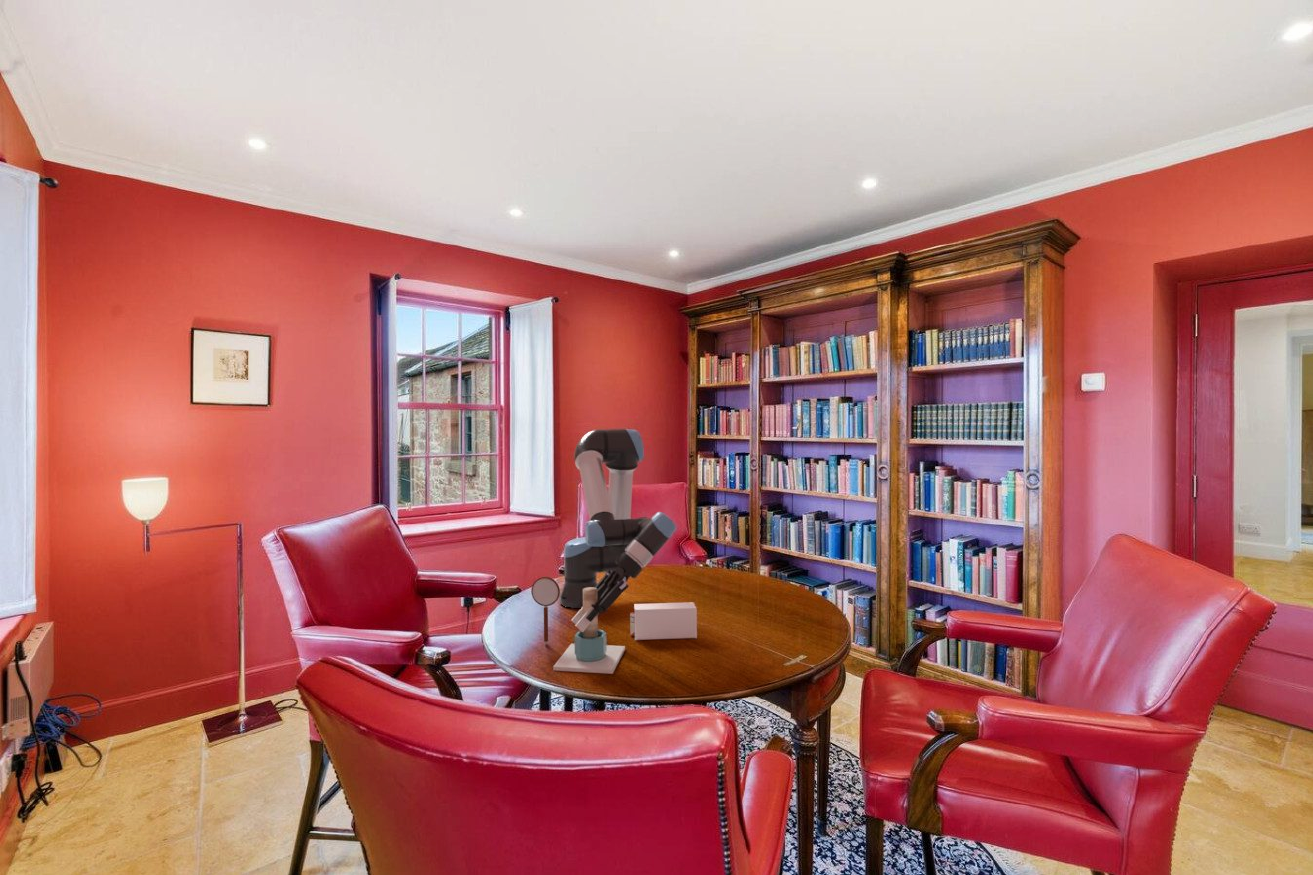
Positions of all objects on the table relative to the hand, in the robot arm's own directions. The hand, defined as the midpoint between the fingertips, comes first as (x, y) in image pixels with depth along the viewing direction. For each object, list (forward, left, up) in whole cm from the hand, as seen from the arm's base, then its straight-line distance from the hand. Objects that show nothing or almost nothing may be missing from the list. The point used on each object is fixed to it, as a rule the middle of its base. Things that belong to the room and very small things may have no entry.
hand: (576, 625), depth 151 cm
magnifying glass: (-11, -13, -10) cm, 20 cm away
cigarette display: (-22, +21, -10) cm, 32 cm away
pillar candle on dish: (-2, +3, -5) cm, 6 cm away
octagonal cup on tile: (-2, +3, -10) cm, 10 cm away
